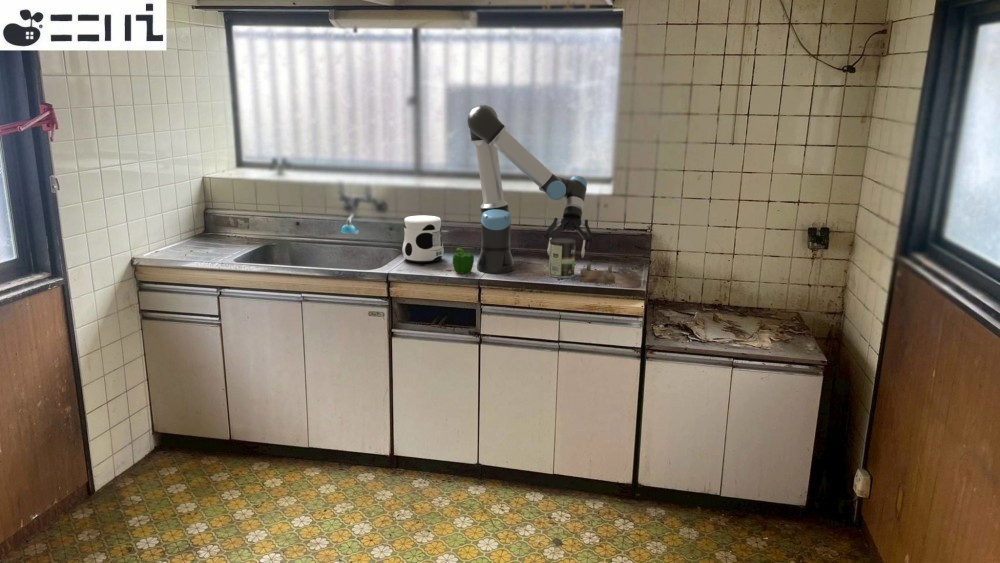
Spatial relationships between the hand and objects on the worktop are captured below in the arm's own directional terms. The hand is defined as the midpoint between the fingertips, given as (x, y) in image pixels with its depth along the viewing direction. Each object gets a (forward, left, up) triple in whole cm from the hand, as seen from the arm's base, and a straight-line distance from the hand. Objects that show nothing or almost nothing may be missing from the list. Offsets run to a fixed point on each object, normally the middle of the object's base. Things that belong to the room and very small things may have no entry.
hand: (565, 254), depth 281 cm
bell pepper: (-40, -3, -8) cm, 41 cm away
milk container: (-60, +14, -8) cm, 62 cm away
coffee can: (-1, 0, -8) cm, 9 cm away
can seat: (+12, -3, -8) cm, 15 cm away
